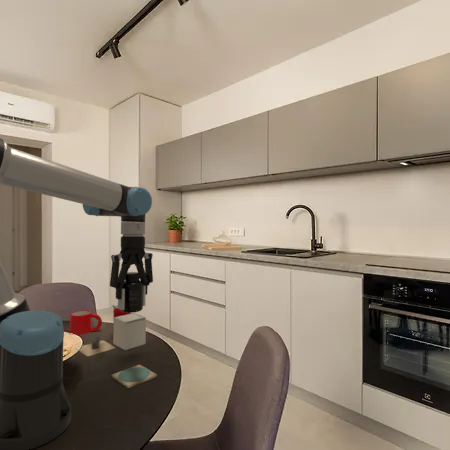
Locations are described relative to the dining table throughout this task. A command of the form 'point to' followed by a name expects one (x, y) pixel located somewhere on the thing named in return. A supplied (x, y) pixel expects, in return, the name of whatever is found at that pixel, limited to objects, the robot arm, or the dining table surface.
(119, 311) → the beverage can
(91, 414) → the dining table surface
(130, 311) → the supplement bottle
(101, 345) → the board
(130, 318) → the grey box
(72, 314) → the mug
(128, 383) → the board
